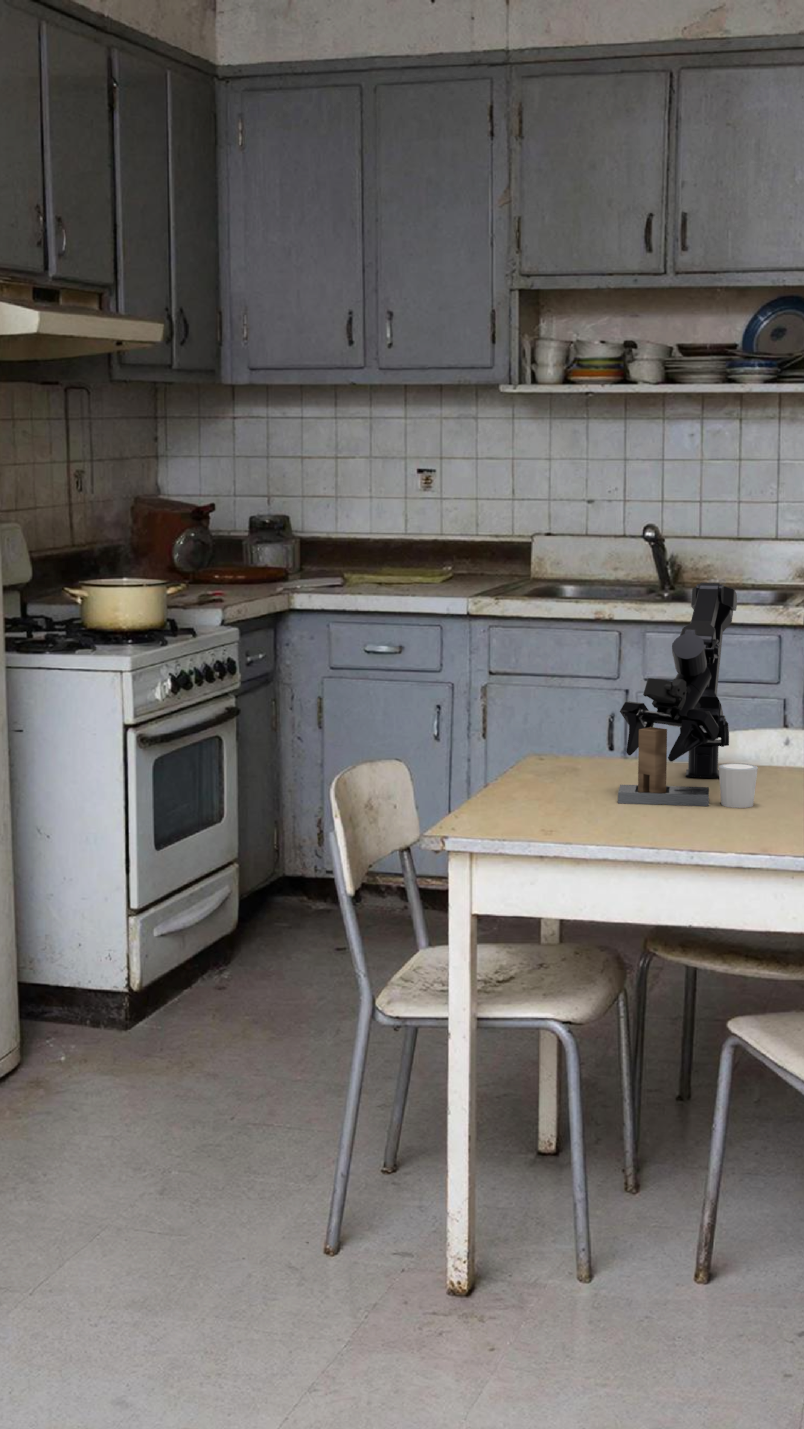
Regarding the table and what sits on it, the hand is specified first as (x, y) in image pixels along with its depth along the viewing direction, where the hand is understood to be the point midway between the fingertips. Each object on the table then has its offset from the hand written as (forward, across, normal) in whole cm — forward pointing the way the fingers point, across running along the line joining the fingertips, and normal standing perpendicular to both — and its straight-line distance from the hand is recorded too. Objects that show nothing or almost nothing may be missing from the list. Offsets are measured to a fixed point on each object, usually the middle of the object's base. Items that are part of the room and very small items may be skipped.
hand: (648, 757), depth 301 cm
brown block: (+5, 0, +7) cm, 8 cm away
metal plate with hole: (+4, +2, +8) cm, 9 cm away
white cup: (0, +13, +12) cm, 18 cm away
